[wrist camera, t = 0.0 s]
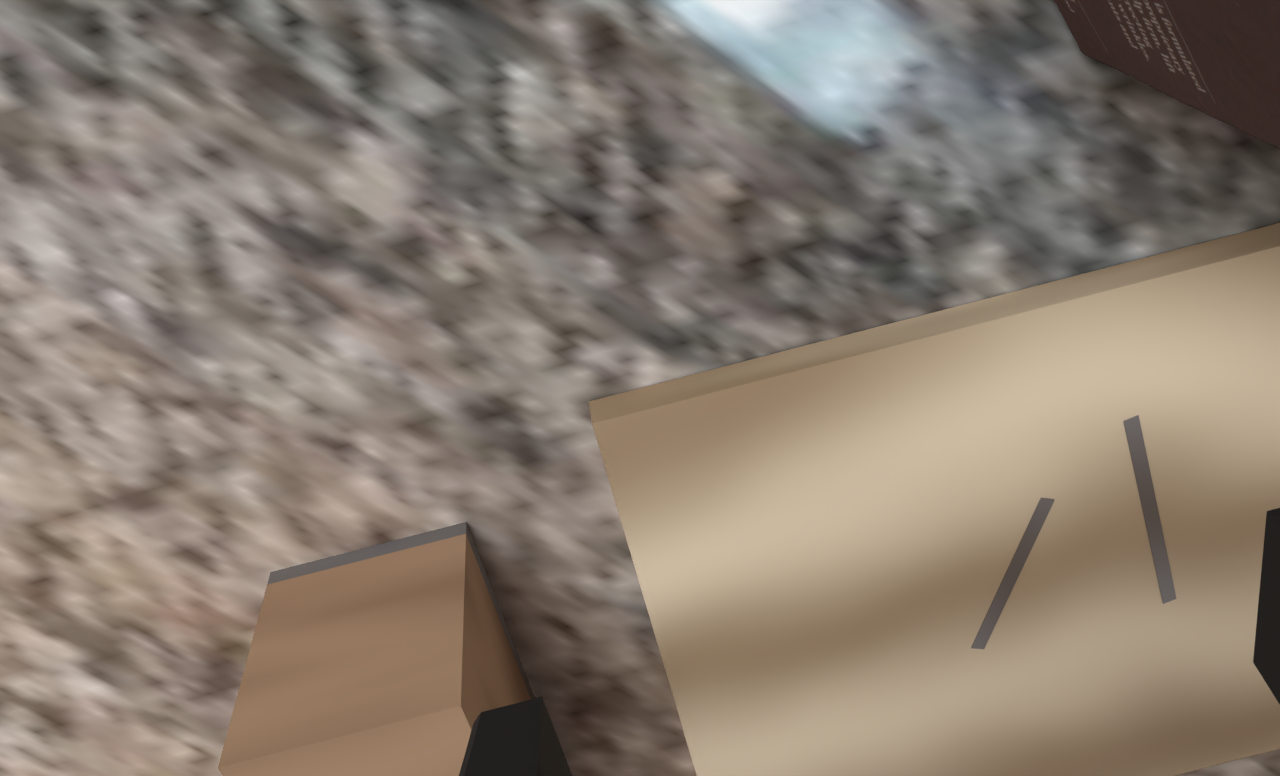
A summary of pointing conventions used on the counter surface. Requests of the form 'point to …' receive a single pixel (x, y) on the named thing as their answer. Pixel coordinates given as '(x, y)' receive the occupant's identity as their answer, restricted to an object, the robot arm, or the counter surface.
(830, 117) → the counter surface
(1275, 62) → the box
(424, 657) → the sanding block
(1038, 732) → the board
